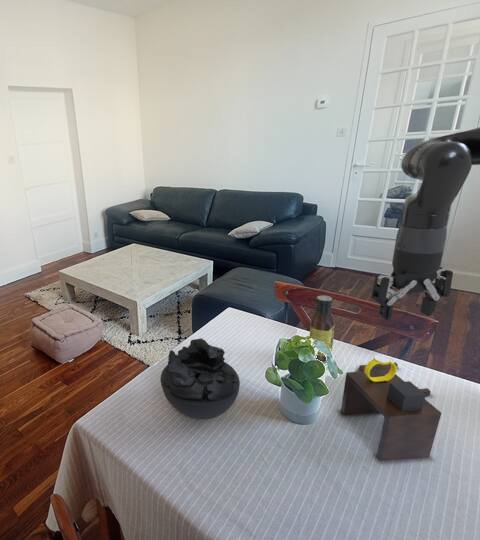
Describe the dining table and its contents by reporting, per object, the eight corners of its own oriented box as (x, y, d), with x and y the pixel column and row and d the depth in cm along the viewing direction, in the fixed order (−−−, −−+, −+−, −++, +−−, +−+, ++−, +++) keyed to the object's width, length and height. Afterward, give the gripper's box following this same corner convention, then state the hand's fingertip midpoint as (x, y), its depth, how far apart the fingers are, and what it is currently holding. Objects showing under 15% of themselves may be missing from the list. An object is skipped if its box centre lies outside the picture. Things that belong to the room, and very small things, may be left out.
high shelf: (381, 408, 84) (389, 368, 80) (429, 457, 71) (441, 413, 67) (340, 411, 84) (346, 372, 80) (380, 461, 71) (389, 416, 67)
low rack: (394, 366, 97) (395, 362, 97) (429, 395, 86) (431, 390, 85) (358, 369, 98) (359, 365, 97) (389, 398, 86) (390, 394, 86)
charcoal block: (406, 396, 71) (409, 381, 70) (421, 410, 68) (425, 394, 66) (386, 398, 72) (389, 382, 70) (401, 412, 68) (404, 396, 66)
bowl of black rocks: (243, 391, 95) (244, 333, 88) (234, 447, 78) (234, 381, 72) (174, 377, 103) (170, 324, 97) (152, 426, 87) (146, 365, 80)
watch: (388, 375, 78) (392, 353, 76) (396, 383, 75) (401, 361, 73) (360, 376, 78) (364, 355, 76) (368, 384, 76) (372, 362, 74)
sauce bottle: (334, 361, 102) (342, 303, 95) (312, 361, 103) (318, 303, 96) (325, 349, 108) (332, 293, 101) (304, 349, 109) (309, 294, 102)
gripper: (396, 256, 65) (384, 328, 71) (474, 247, 64) (455, 321, 70) (369, 245, 72) (360, 311, 78) (439, 236, 71) (425, 304, 77)
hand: (405, 316), depth 74 cm, fingers open, 8 cm apart
